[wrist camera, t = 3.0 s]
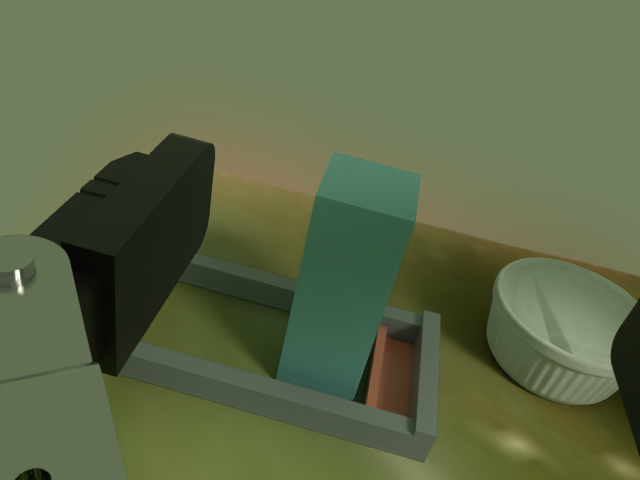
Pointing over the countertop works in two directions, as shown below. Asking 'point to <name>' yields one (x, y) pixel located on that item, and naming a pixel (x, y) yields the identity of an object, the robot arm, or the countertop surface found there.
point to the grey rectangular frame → (305, 404)
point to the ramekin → (557, 329)
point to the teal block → (347, 273)
